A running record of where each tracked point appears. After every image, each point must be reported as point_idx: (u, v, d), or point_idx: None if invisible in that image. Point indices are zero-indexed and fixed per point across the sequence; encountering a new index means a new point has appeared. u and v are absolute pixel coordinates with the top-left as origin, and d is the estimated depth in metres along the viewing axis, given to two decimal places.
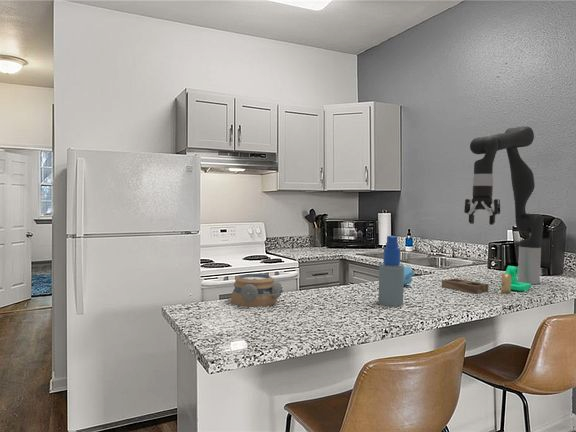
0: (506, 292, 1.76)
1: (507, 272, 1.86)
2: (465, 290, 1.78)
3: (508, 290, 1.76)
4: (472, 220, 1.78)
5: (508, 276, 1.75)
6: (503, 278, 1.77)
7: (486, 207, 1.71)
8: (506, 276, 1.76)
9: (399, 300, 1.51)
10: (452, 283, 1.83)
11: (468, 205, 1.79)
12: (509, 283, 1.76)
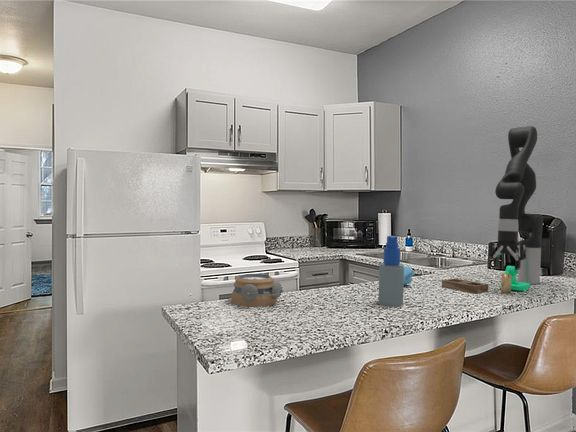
0: (506, 292, 1.76)
1: (506, 272, 1.86)
2: (465, 290, 1.78)
3: (508, 290, 1.76)
4: (497, 263, 1.80)
5: (508, 276, 1.75)
6: (503, 278, 1.77)
7: (512, 252, 1.73)
8: (506, 276, 1.76)
9: (399, 300, 1.51)
10: (452, 283, 1.83)
11: (493, 248, 1.81)
12: (509, 283, 1.76)
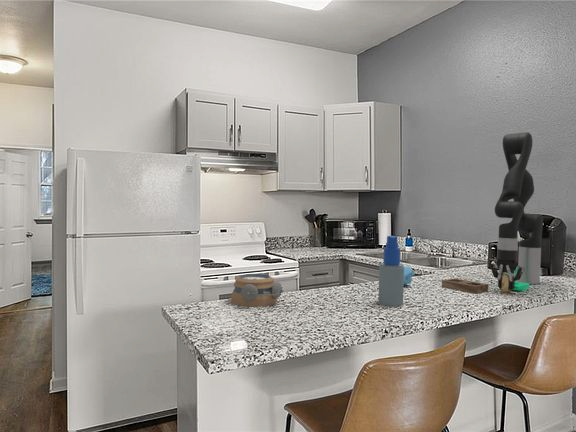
0: (506, 292, 1.76)
1: (505, 272, 1.86)
2: (465, 290, 1.78)
3: (508, 290, 1.76)
4: None
5: (508, 276, 1.75)
6: (503, 278, 1.77)
7: (509, 272, 1.75)
8: (506, 276, 1.76)
9: (399, 300, 1.51)
10: (452, 283, 1.83)
11: (495, 269, 1.81)
12: None
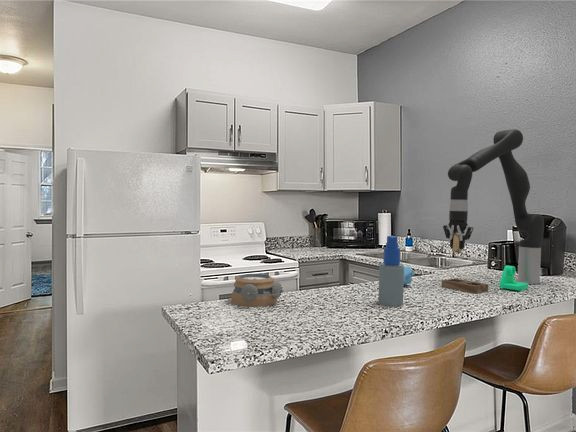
0: (457, 251, 1.85)
1: (504, 272, 1.87)
2: (465, 290, 1.78)
3: (458, 249, 1.85)
4: None
5: None
6: (454, 238, 1.86)
7: (459, 232, 1.84)
8: (457, 236, 1.85)
9: (399, 300, 1.51)
10: (452, 283, 1.83)
11: (447, 230, 1.90)
12: (459, 242, 1.85)
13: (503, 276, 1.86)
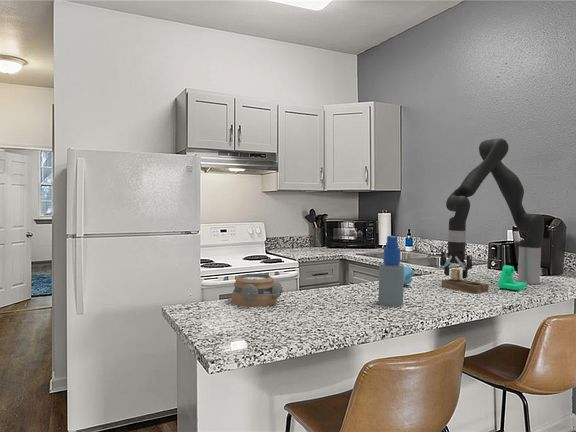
0: None
1: (503, 271, 1.87)
2: (465, 290, 1.78)
3: None
4: (447, 272, 1.90)
5: (457, 271, 1.86)
6: (452, 273, 1.87)
7: (459, 262, 1.84)
8: (455, 271, 1.86)
9: (399, 300, 1.51)
10: (452, 283, 1.83)
11: (444, 258, 1.92)
12: (458, 278, 1.86)
13: (501, 276, 1.86)
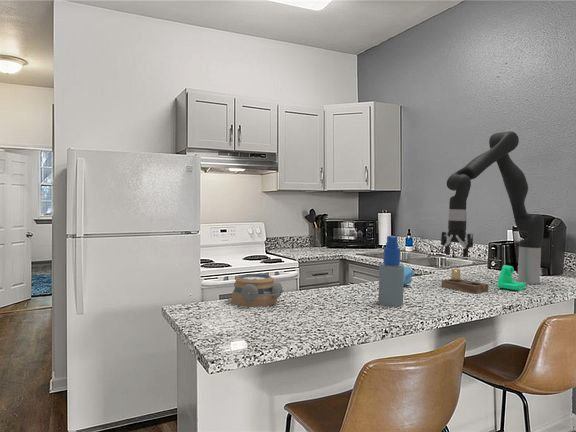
0: None
1: (502, 271, 1.87)
2: (465, 290, 1.78)
3: None
4: (448, 252, 1.90)
5: (457, 271, 1.86)
6: (452, 273, 1.87)
7: (460, 241, 1.84)
8: (455, 271, 1.86)
9: (399, 300, 1.51)
10: (452, 283, 1.83)
11: (444, 237, 1.91)
12: (458, 278, 1.86)
13: (501, 276, 1.87)
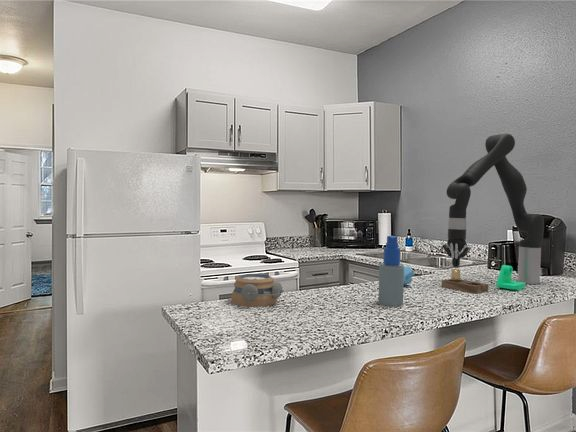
0: None
1: (501, 271, 1.88)
2: (465, 290, 1.78)
3: None
4: None
5: (457, 271, 1.85)
6: (452, 273, 1.87)
7: (456, 250, 1.85)
8: (455, 271, 1.86)
9: (399, 300, 1.51)
10: (452, 283, 1.83)
11: (448, 249, 1.90)
12: (458, 278, 1.86)
13: (500, 276, 1.87)
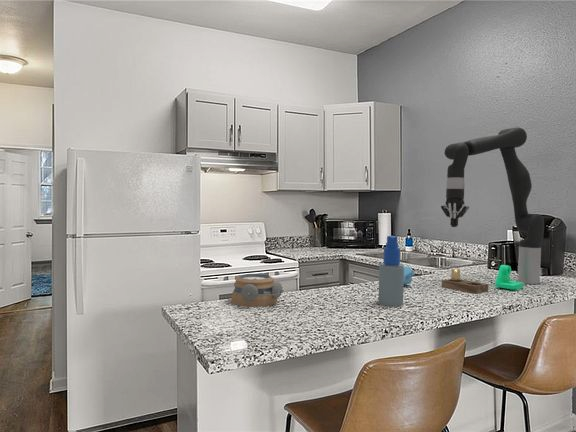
0: None
1: (500, 271, 1.88)
2: (465, 290, 1.78)
3: None
4: None
5: (457, 271, 1.86)
6: (452, 273, 1.87)
7: (454, 210, 1.86)
8: (455, 271, 1.86)
9: (399, 300, 1.51)
10: (452, 283, 1.83)
11: (446, 209, 1.90)
12: (458, 278, 1.86)
13: (498, 276, 1.87)
